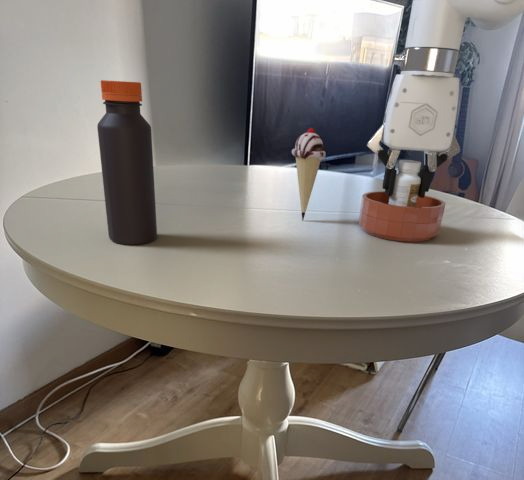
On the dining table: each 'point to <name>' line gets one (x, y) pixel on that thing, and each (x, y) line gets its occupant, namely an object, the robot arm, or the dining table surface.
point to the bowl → (400, 217)
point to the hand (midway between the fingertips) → (404, 193)
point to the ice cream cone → (307, 164)
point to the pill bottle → (406, 184)
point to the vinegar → (127, 165)
